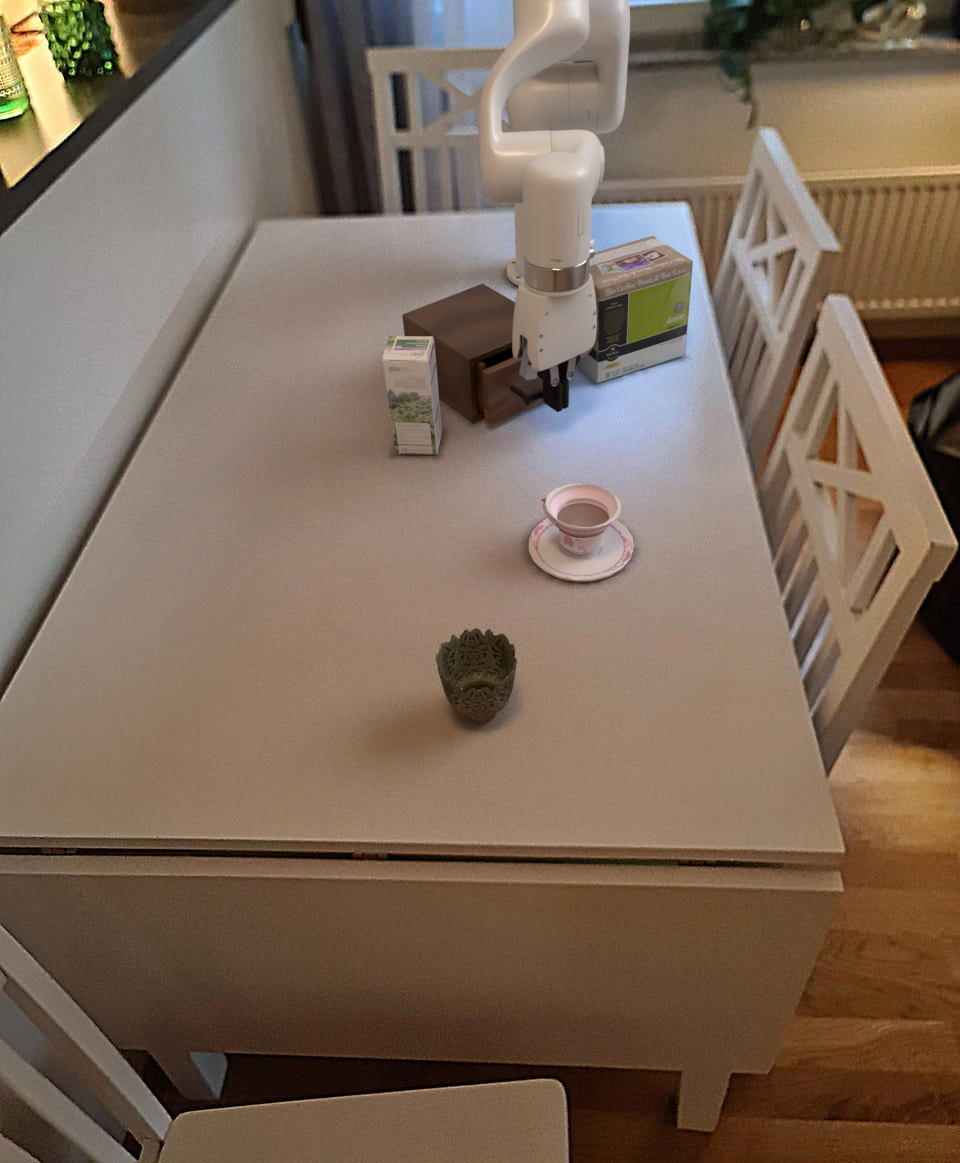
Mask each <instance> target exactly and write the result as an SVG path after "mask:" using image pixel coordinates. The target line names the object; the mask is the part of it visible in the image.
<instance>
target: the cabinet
mask: <svg viewBox="0 0 960 1163" xmlns="http://www.w3.org/2000/svg"><path fill="white" fill-rule="evenodd" d="M514 307H515V301H513V300H512V299H510V298H508V297H507V296H505V295H503V294H502V293H500V292H499V291H496V290H495V289H493V288H491V287H490V286H488V285H486V284H485V283H480V284H478V285H475V286H472V287H470V288H466V289H464V290H462V291H460V292H457V293H454V294H451V295H449V296H447V297H444V298H441V299H439V300H436V301H434V302H431V303H428V304H426V305H423V306H420V307H418V308H416V309H412V310H410V311H407V312H405V313H403V314H401V316H402V325H403V334H404V335H403V336H433V338H434V345H435V355H436V368H437V381H438V392H439V401H442V402H443V403H444V404H446V405H447V406H448V407H450V408H451V409H452V410H453V411H455V412H457V414H459V415H460V416H462V417H463V418H465V419H466V420H467V421H468V422H470V424H476V423H478V422H480V421H483V420H485V415H484V413H482V412H481V411H479V410H478V409H477V394H476V378H475V364H474V363H476V362H479V361H481V360H484V359H486V358H488V357H491V356H493V355H495V354H498V353H500V352H502V351H505V350H507V349H509V348H512V333H513V317H514Z"/></svg>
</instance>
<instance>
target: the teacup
mask: <svg viewBox="0 0 960 1163" xmlns="http://www.w3.org/2000/svg"><path fill="white" fill-rule="evenodd" d="M541 502H542V509H543V512H544V515H545V516H546V518H545V519H543V520H542V521H540V522H539V523H538V524H537V525H536V526H535V527H534V528H533V529H532V531H531V533H530V535H529V538H528V554H529V556H530V557H531V559H532V561H533V563H534V564H535V566H537V567H538V568H539V569H541V570H542V571H543V572H544V573H546V574H548V575H550V576H552V577H555V578H557V579H559V580H564V581H569V582H575V583H578V582H581V583H582V582H596V581H600V580H603V579H607V578H610V577H611V576H614V575H615V574H617V573H619V572H621V571H622V570H623V569H624V568H625V567H627V565H628V564H629V563H630V561H631V560H632V556H633V553H634V550H635V546H634V539H633V535H632V534H631V533H630V531H629V529H628V528H627V527H626V526H625V525H624V524H622V523H621V522H620V521H619V520H617V519H618V518H619V517H620V515H621V513H622V509H623V508H622V502H621V501H620V499H619V498H618V496H617V495H616V494H614V492H612V491H611V490H609V489H607V488H605V487H603V486H600V485H597V484H593V483H587V482H585V483H583V482H577V483H576V482H575V483H567V484H563V485H560V486H558V487H556V488H553V490H552V491H550V492H549V493H548V494H547V496H546V497H545V498H541Z"/></svg>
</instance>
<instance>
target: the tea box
mask: <svg viewBox="0 0 960 1163" xmlns="http://www.w3.org/2000/svg"><path fill="white" fill-rule="evenodd" d="M594 253H595V255H594V257H593V258H591V259H590V268H589V273H590V274H591V275H592V279H593V283H594V289H595V298H596V312H597V329H596V339H595V343H594V345H593V346H592V350H591V351H590V352H589V353H588V354H587V355H585V356H584V357H583V358H580V360H579V362H578V364H577V365H576V367H578V368H579V369H580V370H581V371H583V373H585V375H587V376H588V377H589V378H590V379H592V381H594V382H595V383H596V384H599V383H602V382H605V381H608V380H612V379H615V378H619V377H620V376H624V375H627V374H630V373H634V372H636V371H639V370H643V369H646V368H649V367H652V366H655V365H659V364H662V363H665V362H668V361H670V360H674V359H678V358H680V357H684V356H685V355H686V351H687V350H686V348H687V339H688V325H689V316H690V303H691V290H692V277H693V264H694V262H693V259H691V258H689V257H688V256H685V255H684V254H682V253H681V252H680V251H678V250H676V249H674V248H673V247H672V246H670V245H668V244H667V243H665V242H663V241H662V240H660V239H659V238H657V237H655V235H651V236H647V237H644V238H641V239H637V240H633V241H630V242H626V243H623V244H620V245H615V246H612V247H609V248H605V249H601V250H599V251H594Z"/></svg>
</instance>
